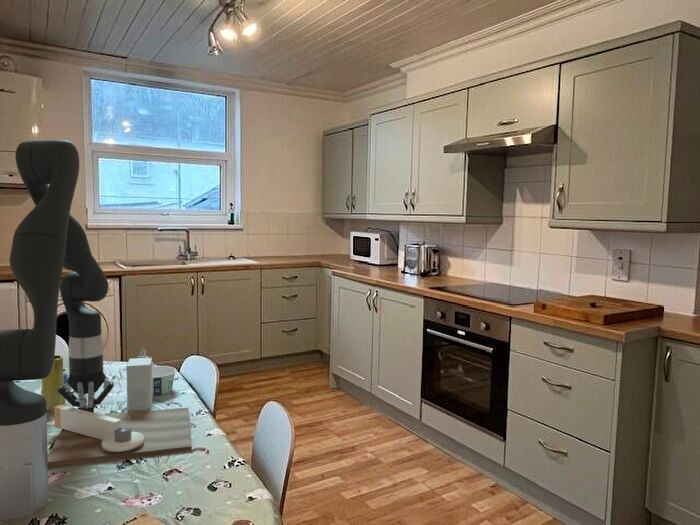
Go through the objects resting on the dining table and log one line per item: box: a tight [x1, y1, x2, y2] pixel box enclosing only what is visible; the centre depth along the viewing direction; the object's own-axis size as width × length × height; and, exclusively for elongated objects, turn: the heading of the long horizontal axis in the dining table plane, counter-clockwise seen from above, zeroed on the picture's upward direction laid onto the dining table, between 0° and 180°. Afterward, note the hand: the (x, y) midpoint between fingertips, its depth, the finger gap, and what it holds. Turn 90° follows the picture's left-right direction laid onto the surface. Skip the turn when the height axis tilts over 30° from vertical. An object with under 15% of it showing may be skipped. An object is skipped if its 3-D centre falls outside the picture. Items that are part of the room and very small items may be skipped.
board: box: [48, 407, 193, 469], centre depth 130 cm, size 26×30×2 cm
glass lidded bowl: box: [136, 346, 155, 366], centre depth 191 cm, size 9×9×8 cm
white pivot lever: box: [53, 405, 144, 452], centre depth 125 cm, size 26×9×5 cm, turn 65°
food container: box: [152, 365, 177, 397], centre depth 163 cm, size 12×12×6 cm
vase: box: [41, 354, 67, 412], centre depth 148 cm, size 6×6×14 cm
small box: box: [126, 357, 153, 412], centre depth 151 cm, size 8×6×13 cm
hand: (87, 421), depth 131 cm, fingers closed
